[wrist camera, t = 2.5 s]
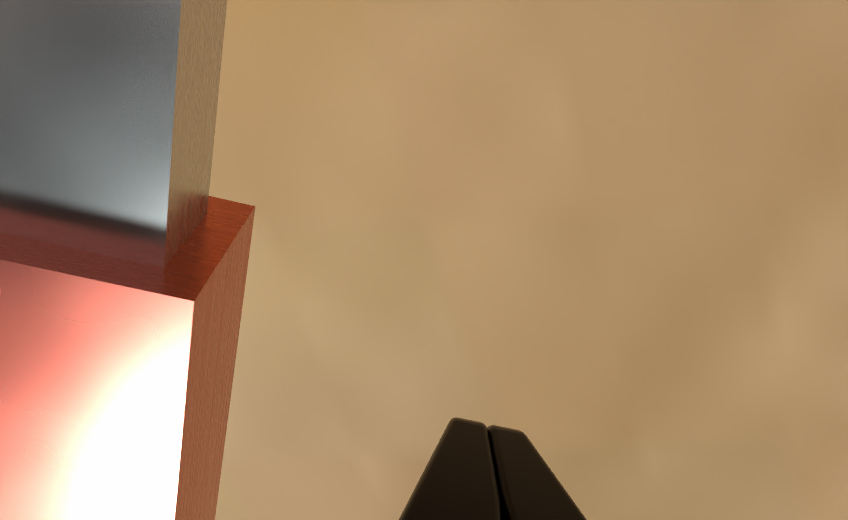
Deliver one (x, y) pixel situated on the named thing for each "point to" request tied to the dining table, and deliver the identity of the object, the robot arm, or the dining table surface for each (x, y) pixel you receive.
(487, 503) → the robot arm
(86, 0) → the valve lever
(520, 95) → the dining table surface
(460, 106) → the dining table surface
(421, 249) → the dining table surface
